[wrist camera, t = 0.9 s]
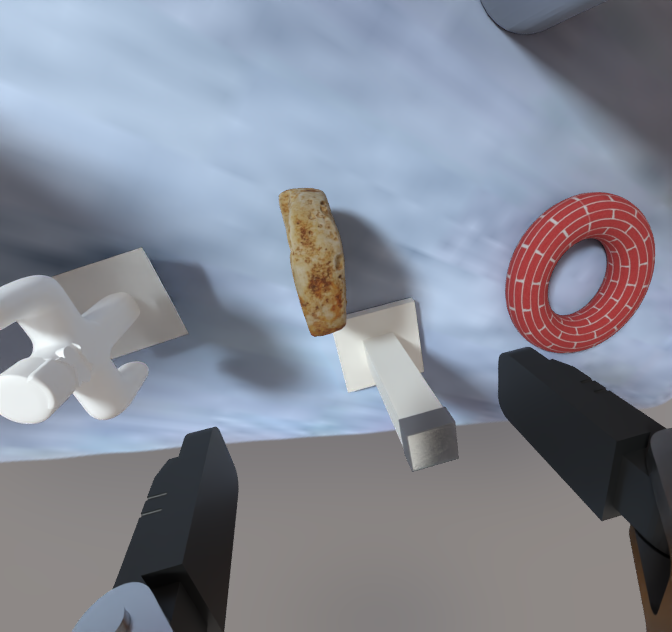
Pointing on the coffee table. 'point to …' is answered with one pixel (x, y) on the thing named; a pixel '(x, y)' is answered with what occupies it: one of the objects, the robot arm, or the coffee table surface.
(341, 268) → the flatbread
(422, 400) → the post
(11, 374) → the figurine
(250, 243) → the coffee table surface
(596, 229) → the torus
